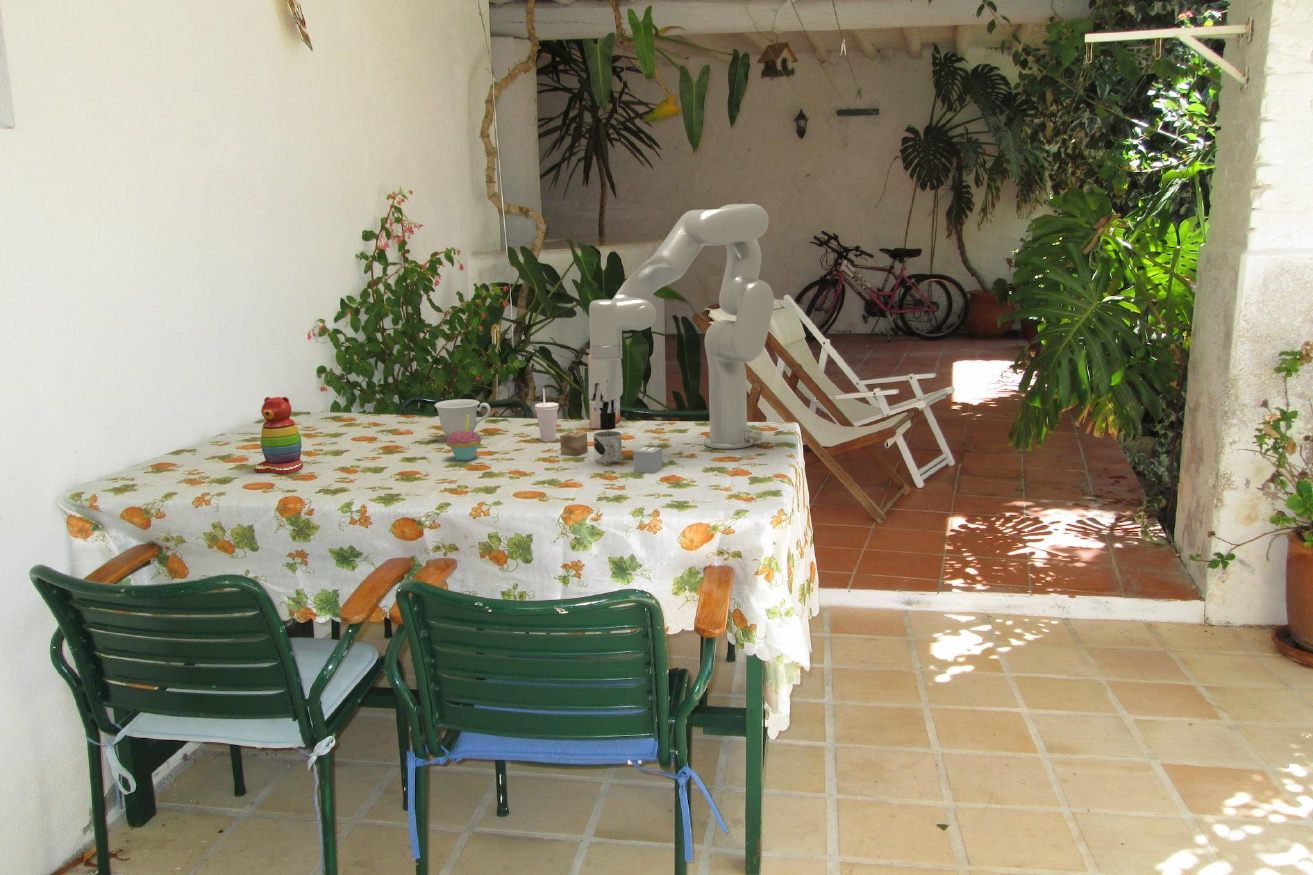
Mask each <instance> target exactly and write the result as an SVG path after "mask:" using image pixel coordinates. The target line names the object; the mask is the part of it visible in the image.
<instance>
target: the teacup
mask: <svg viewBox="0 0 1313 875" xmlns="http://www.w3.org/2000/svg"><path fill="white" fill-rule="evenodd" d="M478 406H479V407H478ZM434 407H435V408H436V410H437V414H438V418H439V419H438V420H439V423H440V427H441V430H442V432H443V434H445V435H446V436H447V437H448V436H449V435H451V434H452V433H453V432H457V431H465V429H466V415H469V425H468V430H470V431H472V432H475V429H476V427H477V425H478V424H479V423H480V422H482V421H484V420H486V419H487V418H489V416H490V415H491V412H492V410H491V406H490V405H489V403H487V402H482V403H480V401H478V400H477V399H468V398H467V399H466V398H465V399H464V398H462V399H460V398H459V399H449V400H447V399H446V400H442V401H439V402H436V403H435V404H434ZM483 407H484V408H486V409H487V412H486V414H485V415H484V416H482V417H479V418H478V419H477V415H478V414H477V412H481V411H482V408H483ZM468 412H469V414H468Z"/></svg>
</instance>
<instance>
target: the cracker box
mask: <svg viewBox="0 0 1313 875" xmlns="http://www.w3.org/2000/svg"><path fill="white" fill-rule="evenodd" d="M590 361H591V359H590V354H588V355H587V367H588V369H587V371H588V372H587V373H588V377H589V369H590ZM620 397H621V396H620ZM620 397H619V401H618V402H617V403H616V411H615V425H616V424H617V423H618V422H620V421H621V412H620V411H621V398H620ZM595 401H596V400H595ZM595 401H590V400H589V399H588V404H589V406H588V408H589V429H591V430H602V429H601V427H600V412H599V408H598V407H595Z"/></svg>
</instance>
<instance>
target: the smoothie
mask: <svg viewBox="0 0 1313 875" xmlns="http://www.w3.org/2000/svg"><path fill="white" fill-rule="evenodd" d="M542 400H543V402H540V403H536V404H535V405H534V410H535V411H536V416H537V422H538V428H539V433H540V438H541V441H542V442H548V443H549V442H555V441H556V438H557V436H556V435H557V422H558V409H559V408H560V406H559V403H557V402H546V390H545V388H544V387H543V388H542Z"/></svg>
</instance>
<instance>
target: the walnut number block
mask: <svg viewBox="0 0 1313 875" xmlns="http://www.w3.org/2000/svg"><path fill="white" fill-rule="evenodd" d="M559 441H560V455H561V456H571V457H572V456H573V457H580V456H582V455H584V454H587V453H588V452H589V450H588V449H589V446H588V444H589V443H588V432H585V431H584V432H583V431H582V432H581V431H567V432H566V433H563V434H560V435H559Z"/></svg>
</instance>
